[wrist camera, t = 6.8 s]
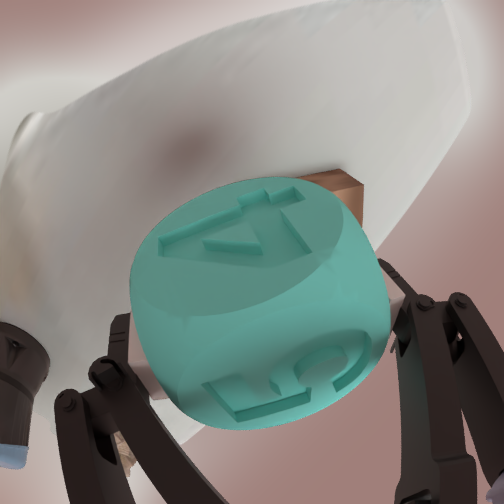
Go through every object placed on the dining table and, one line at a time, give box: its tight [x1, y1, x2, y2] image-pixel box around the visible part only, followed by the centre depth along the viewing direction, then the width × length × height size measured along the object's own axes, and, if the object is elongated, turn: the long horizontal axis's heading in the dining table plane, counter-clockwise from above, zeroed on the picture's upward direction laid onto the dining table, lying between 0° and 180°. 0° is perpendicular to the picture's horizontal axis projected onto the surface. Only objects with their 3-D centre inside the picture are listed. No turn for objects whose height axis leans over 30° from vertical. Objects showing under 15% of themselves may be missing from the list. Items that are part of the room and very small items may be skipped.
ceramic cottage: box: [114, 431, 137, 477], centre depth 54 cm, size 16×16×15 cm
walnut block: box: [297, 169, 364, 227], centre depth 37 cm, size 14×14×6 cm
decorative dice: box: [130, 177, 391, 430], centre depth 13 cm, size 8×8×8 cm
